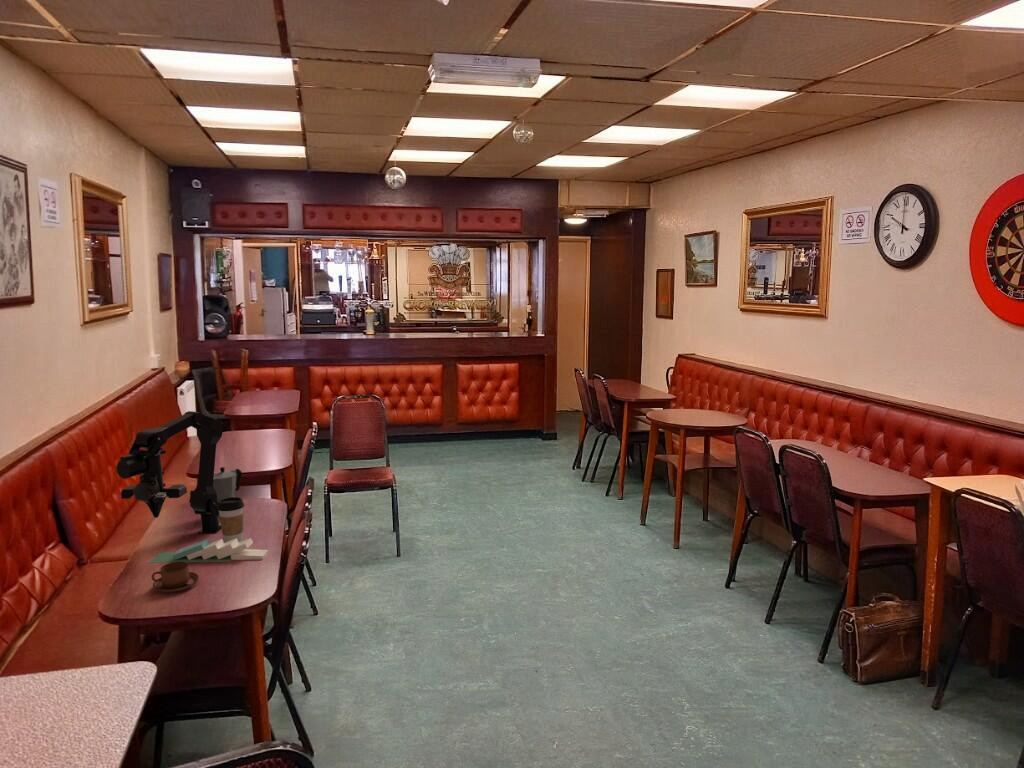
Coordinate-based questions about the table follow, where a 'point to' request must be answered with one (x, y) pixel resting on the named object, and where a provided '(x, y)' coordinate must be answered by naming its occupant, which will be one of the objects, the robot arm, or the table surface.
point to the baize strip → (169, 558)
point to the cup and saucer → (174, 577)
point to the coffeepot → (226, 483)
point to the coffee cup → (231, 518)
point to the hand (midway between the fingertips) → (156, 517)
